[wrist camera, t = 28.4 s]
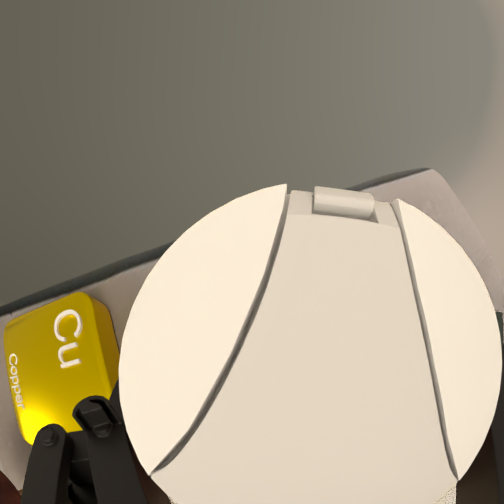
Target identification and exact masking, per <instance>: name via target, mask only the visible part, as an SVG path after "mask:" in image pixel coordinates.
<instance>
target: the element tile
mask: <svg viewBox="0 0 504 504" xmlns="http://www.w3.org/2000/svg"><path fill="white" fill-rule="evenodd" d="M4 351H5V359H6V367H7V374H8V380H9V386H10V391H11V396H12V401H13V406H14V410H15V414H16V418H17V422H18V426H19V429H20V432H21V434H22V436H23V438H24V439H25V441H26V442H27V443H29V444H31V445H33V443H34V439H35V436H36V434H37V432H38V431H39V430H40V429H41V428H42V427H44V426H46V425H47V424H53V423H54V424H59V425H60V426H62V427H63V428H64V429H65V431H66V432H67V433H68V432H74V431H80V430H82V428H81V427H80V426H79V424H78V423H77V422H76V420H75V419H74V418H73V416H72V413H73V409H74V407H75V406H76V404H77V403H79V402H80V401H81V400H82V399H84V398H86V397H89V396H94V395H99V396H104V397H105V398H107V399H108V400H109V398H110V396H111V393H112V391H113V388H115V384H116V381H117V380H118V376H119V360H120V354H119V350H118V346H117V342H116V338H115V334H114V329H113V325H112V320H111V316H110V313H109V310H108V309H107V307H106V306H105V305H104V304H102V303H100V302H99V301H97V300H96V299H94V298H92V297H91V296H89V295H88V294H86V293H85V292H75V293H72V294H70V295H68V296H65V297H63V298H61V299H58V300H56V301H54V302H51V303H49V304H47V305H44V306H42V307H40V308H37V309H35V310H33V311H31V312H28V313H26V314H24V315H21V316H19V317H17V318H15V319H12V320H11V321H10V322H9V323H8V324H7V325H6V327H5V330H4Z"/></svg>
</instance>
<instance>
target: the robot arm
mask: <svg viewBox="0 0 504 504" xmlns="http://www.w3.org/2000/svg"><path fill="white" fill-rule="evenodd" d="M501 350H502V373H501V384H500V392H499V397H498V401H497V406H496V410H495V414H494V417H493V420H492V423H491V425H490V428H489V431H488V433H487V436H486V438H485V440H484V443H483V445H482V447H481V448H480V450H479V452H478V454H477V455H476V457H475V459H474V461H473V462H472V464H471V466H470V467H469V469H468V470H467V472H466V473H465V474H464V475H463V477H462V478H461V479H460V480H459V481H457V484H456V504H504V344H503V345H501ZM72 416H73V418H74V419H75V420H76V422H77V423H78V424H79V426H80V427H81V428H82V430H80V431H74V432H68V433H67V432H66V431H65V429H64V428H63V427H62V426H60V425H59V424H54V423H53V424H47V425H46V426H44V427H42V428H41V429H40V430H39V431H38V432H37V434H36V436H35V439H34V443H33V446H32V450H31V454H30V458H29V462H28V466H27V471H26V475H25V480H24V485H23V490H22V496H21V502H20V504H171V502H170V500H169V498H168V496H167V494H166V493H165V492H164V491H163V490H162V489H161V488H160V487H159V486H158V485H157V484H156V483H155V482H154V481H153V480H152V479H151V475H150V476H149V475H148V474H147V472H146V471H145V469H144V468H143V466H142V465H141V463H140V461H139V459H138V457H137V455H136V452H135V450H134V448H133V445H132V443H131V441H130V438H129V436H128V433H127V430H126V426H125V422H124V417H123V413H122V408H121V404H120V394H119V376H118V380H117V381H116V384H115V388H113V391H112V393H111V396H110V398H109V400H108V399H107V398H105V397H104V396H99V395H94V396H89V397H86V398H84V399H82V400H81V401H80V402H79V403H77V404H76V406H75V407H74V409H73V413H72Z"/></svg>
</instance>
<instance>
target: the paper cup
mask: <svg viewBox="0 0 504 504" xmlns="http://www.w3.org/2000/svg"><path fill="white" fill-rule="evenodd" d="M286 189H287V184H283V185H278V186H273V187H269V188H265V189H261V190H258V191H256V192H253V193H250V194H247V195H245V196H242V197H239V198H237V199H234V200H233V201H231V202H229V203H227V204H225V205H223V206H222V207H220V208H218V209H216V210H214V211H212V212H211V213H209V214H208V215H206V216H205V217H204V218H202V219H201V220H200V221H198V222H197V223H196V224H194V225H193V226H192V227H190V228H189V229H188V230H187V231H185V232H184V233H183V235H182V236H181V237H179V238H178V239H177V240H176V241H175V243H174V244H173V245H172V246H171V247H170V248H169V249H168V250H167V251H166V252H165V253H164V254H163V256H162V257H161V258H160V260H159V261H158V262H157V264H156V265H155V267H154V268H153V269H152V271H151V272H150V274H149V275H148V276H147V278H146V280H145V282H144V284H143V286H142V288H141V290H140V292H139V294H138V296H137V298H136V300H135V302H134V304H133V306H132V309H131V312H130V315H129V318H128V321H127V324H126V328H125V331H124V334H123V338H122V345H121V353H120V360H119V394H120V404H121V408H122V413H123V417H124V422H125V426H126V430H127V433H128V436H129V438H130V441H131V443H132V445H133V448H134V450H135V452H136V455H137V457H138V459H139V461H140V463H141V465H142V466H143V468H144V469H145V471H146V472H147V474H148V475H149V476H150V475H151V479H152V480H153V481H154V482H155V483H156V484H157V485H158V486H159V487H160V488H161V489H162V490H163V491H164V492H165V493H166V494H167V495H168V496H169V497H170V498H171V499H172V500H173V501H174V502H175V503H176V504H435V503H436V502H437V501H438V500H439V499H441V498H442V497H443V496H444V495H445V494H446V493H447V492H448V491H449V490H450V489H451V488H453V487H454V486H455V485H456V484H457V481H459V480H460V479H461V478H462V477H463V475H464V474H465V473H466V472H467V470H468V469H469V467H470V466H471V464H472V462H473V461H474V459H475V457H476V455H477V454H478V452H479V450H480V448H481V447H482V445H483V443H484V440H485V438H486V436H487V433H488V431H489V428H490V425H491V423H492V420H493V417H494V414H495V410H496V406H497V401H498V397H499V392H500V384H501V373H502V350H501V338H500V332H499V327H498V322H497V318H496V313H495V309H494V307H493V304H492V301H491V298H490V296H489V293H488V291H487V288H486V286H485V284H484V282H483V280H482V278H481V276H480V275H479V273H478V271H477V269H476V267H475V266H474V264H473V262H472V261H471V260H470V258H469V257H468V256H467V254H466V253H465V252H464V250H463V249H462V248H461V247H460V245H459V244H458V243H457V242H456V241H455V240H454V239H453V238H452V237H451V236H450V235H449V234H448V233H447V232H446V231H445V230H444V229H443V228H442V227H441V226H440V225H439V224H438V223H436V222H435V221H434V220H432V219H431V218H429V217H428V216H427V215H425V214H424V213H423V212H421V211H420V210H418V209H417V208H415V207H413V206H411V205H409V204H407V203H405V202H404V201H402V200H400V199H395V200H393V202H392V203H391V204H389V203H387V202H381V201H374V199H373V196H372V194H371V193H364V192H357V191H350V190H343V189H335V188H327V187H318V186H315V189H314V192H305V191H296V190H292V192H291V194H288V195H286V191H287V190H286Z"/></svg>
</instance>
